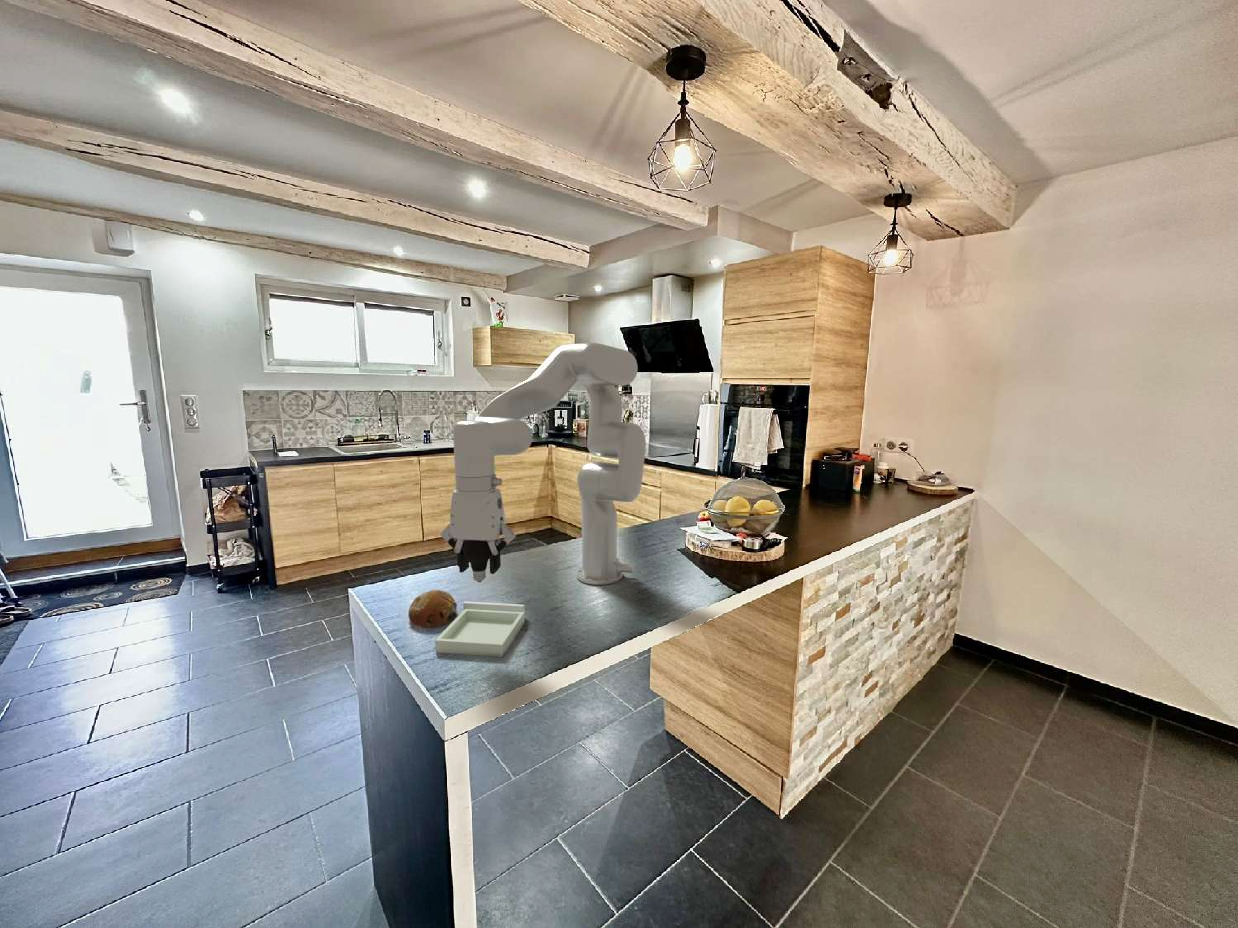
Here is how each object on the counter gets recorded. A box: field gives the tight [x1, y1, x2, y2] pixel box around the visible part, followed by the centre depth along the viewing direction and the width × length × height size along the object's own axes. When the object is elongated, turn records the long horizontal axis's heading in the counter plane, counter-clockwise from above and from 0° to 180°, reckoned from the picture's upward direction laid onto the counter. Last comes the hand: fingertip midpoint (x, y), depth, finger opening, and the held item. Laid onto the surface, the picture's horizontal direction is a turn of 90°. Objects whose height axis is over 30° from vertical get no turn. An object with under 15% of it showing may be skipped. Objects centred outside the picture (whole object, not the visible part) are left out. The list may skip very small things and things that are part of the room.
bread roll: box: [407, 589, 458, 629], centre depth 109 cm, size 10×10×8 cm
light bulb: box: [463, 540, 492, 583], centre depth 98 cm, size 6×6×10 cm
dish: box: [434, 608, 526, 658], centre depth 100 cm, size 14×14×2 cm
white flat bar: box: [462, 601, 526, 618], centre depth 109 cm, size 14×1×3 cm, turn 83°
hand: (479, 569), depth 98 cm, fingers closed on light bulb, 5 cm apart
